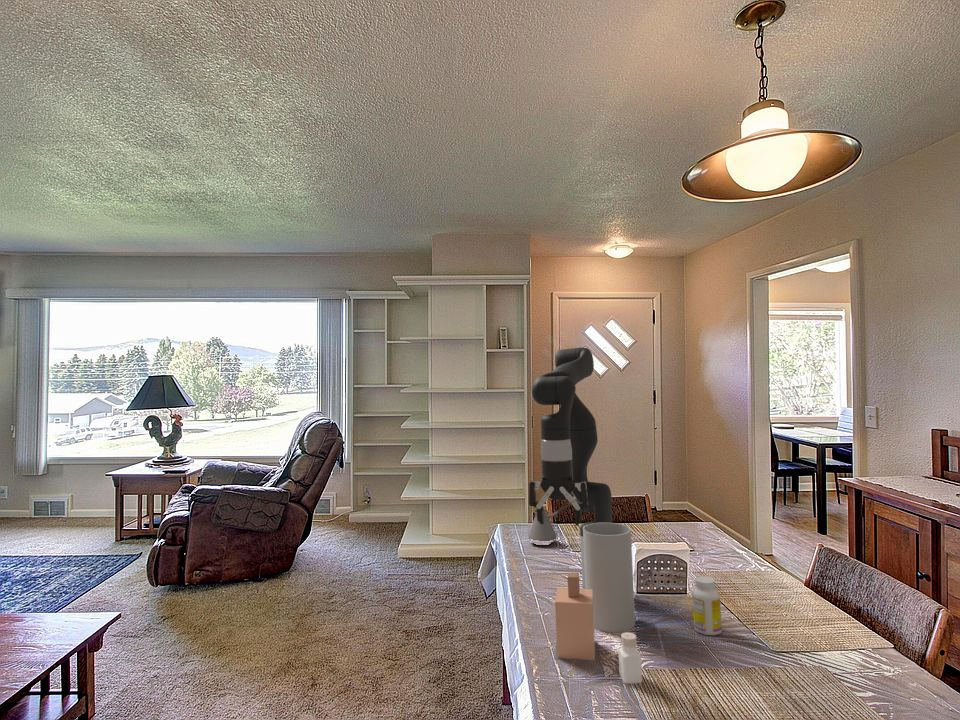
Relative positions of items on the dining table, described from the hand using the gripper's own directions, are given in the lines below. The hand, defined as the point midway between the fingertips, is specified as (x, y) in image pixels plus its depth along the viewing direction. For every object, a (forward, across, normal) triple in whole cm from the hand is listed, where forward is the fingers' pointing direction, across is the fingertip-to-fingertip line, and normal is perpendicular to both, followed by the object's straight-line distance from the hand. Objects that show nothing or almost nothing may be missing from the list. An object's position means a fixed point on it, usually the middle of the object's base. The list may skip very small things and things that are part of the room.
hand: (559, 524), depth 129 cm
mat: (+30, -3, 0) cm, 30 cm away
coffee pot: (+30, +16, -85) cm, 92 cm away
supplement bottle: (+30, -34, -18) cm, 49 cm away
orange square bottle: (+30, -3, 0) cm, 30 cm away
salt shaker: (+30, -16, +10) cm, 35 cm away
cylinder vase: (+30, -10, -16) cm, 36 cm away
